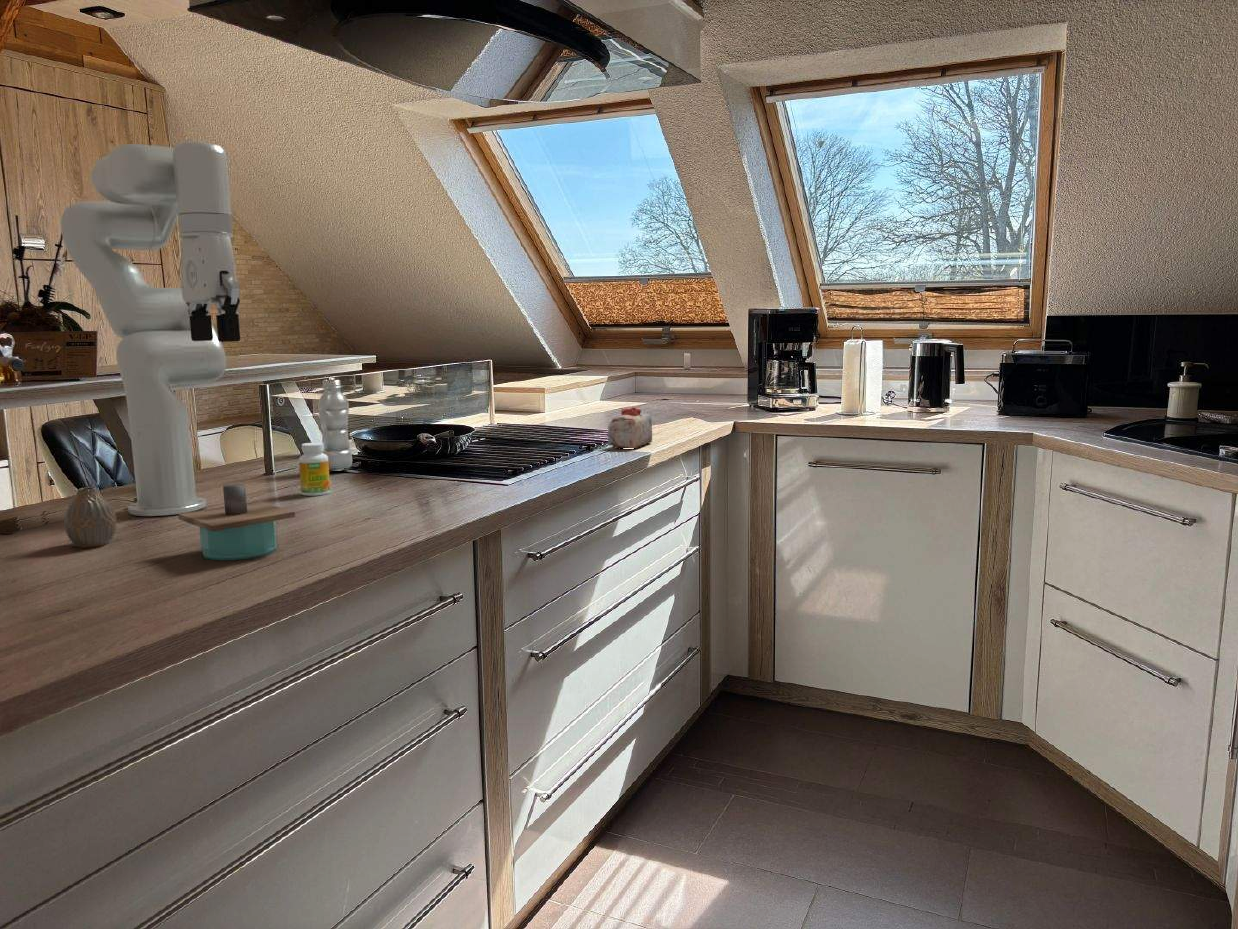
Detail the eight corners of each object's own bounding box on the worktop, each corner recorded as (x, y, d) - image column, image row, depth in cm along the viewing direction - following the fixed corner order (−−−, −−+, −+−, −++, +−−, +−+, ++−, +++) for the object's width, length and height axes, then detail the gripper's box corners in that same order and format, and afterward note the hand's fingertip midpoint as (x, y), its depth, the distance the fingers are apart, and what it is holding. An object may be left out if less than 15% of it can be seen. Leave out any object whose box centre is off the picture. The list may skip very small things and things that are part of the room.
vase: (126, 538, 149) (121, 483, 147) (104, 549, 142) (98, 492, 140) (82, 539, 148) (76, 484, 147) (57, 550, 142) (51, 493, 140)
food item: (636, 451, 231) (635, 411, 229) (605, 450, 234) (605, 410, 232) (655, 443, 243) (654, 405, 242) (626, 442, 246) (625, 404, 245)
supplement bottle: (308, 497, 179) (304, 446, 178) (296, 493, 183) (292, 444, 182) (335, 493, 183) (331, 443, 181) (323, 490, 187) (319, 441, 185)
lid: (178, 519, 138) (175, 486, 138) (258, 506, 147) (255, 475, 146) (212, 531, 130) (209, 497, 129) (295, 517, 138) (292, 484, 138)
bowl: (191, 552, 139) (188, 519, 138) (257, 539, 146) (254, 508, 145) (221, 564, 132) (218, 529, 131) (288, 550, 139) (286, 517, 139)
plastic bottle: (329, 469, 212) (323, 379, 209) (358, 469, 211) (352, 379, 208) (316, 474, 206) (309, 381, 202) (345, 474, 205) (339, 381, 201)
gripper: (158, 230, 148) (168, 341, 151) (205, 222, 136) (215, 342, 139) (206, 232, 153) (215, 339, 156) (255, 225, 141) (264, 340, 144)
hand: (215, 341), depth 147 cm, fingers open, 9 cm apart
